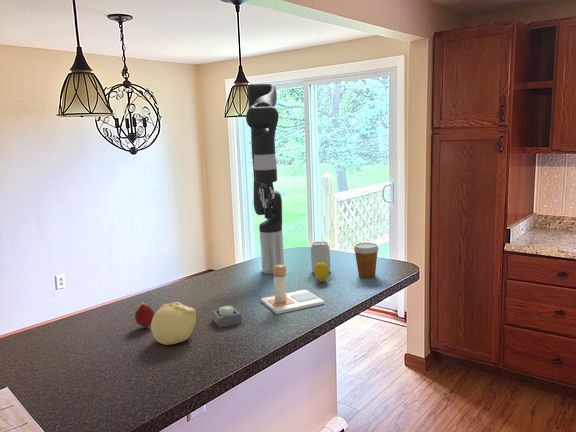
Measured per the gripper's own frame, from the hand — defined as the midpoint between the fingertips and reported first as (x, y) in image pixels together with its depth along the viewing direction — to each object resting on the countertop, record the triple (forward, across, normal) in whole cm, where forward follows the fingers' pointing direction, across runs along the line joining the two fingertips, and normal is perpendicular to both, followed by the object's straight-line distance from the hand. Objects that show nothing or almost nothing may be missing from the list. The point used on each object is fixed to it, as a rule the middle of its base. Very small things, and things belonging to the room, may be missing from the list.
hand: (268, 218), depth 166 cm
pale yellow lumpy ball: (+27, -21, +38) cm, 51 cm away
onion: (+28, -7, +44) cm, 53 cm away
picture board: (+27, -10, -3) cm, 29 cm away
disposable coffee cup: (+28, +2, -40) cm, 49 cm away
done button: (+27, -15, +21) cm, 38 cm away
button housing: (+27, -15, +21) cm, 38 cm away
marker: (+26, -10, +1) cm, 28 cm away
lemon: (+28, +4, -22) cm, 36 cm away
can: (+28, +16, -27) cm, 43 cm away
